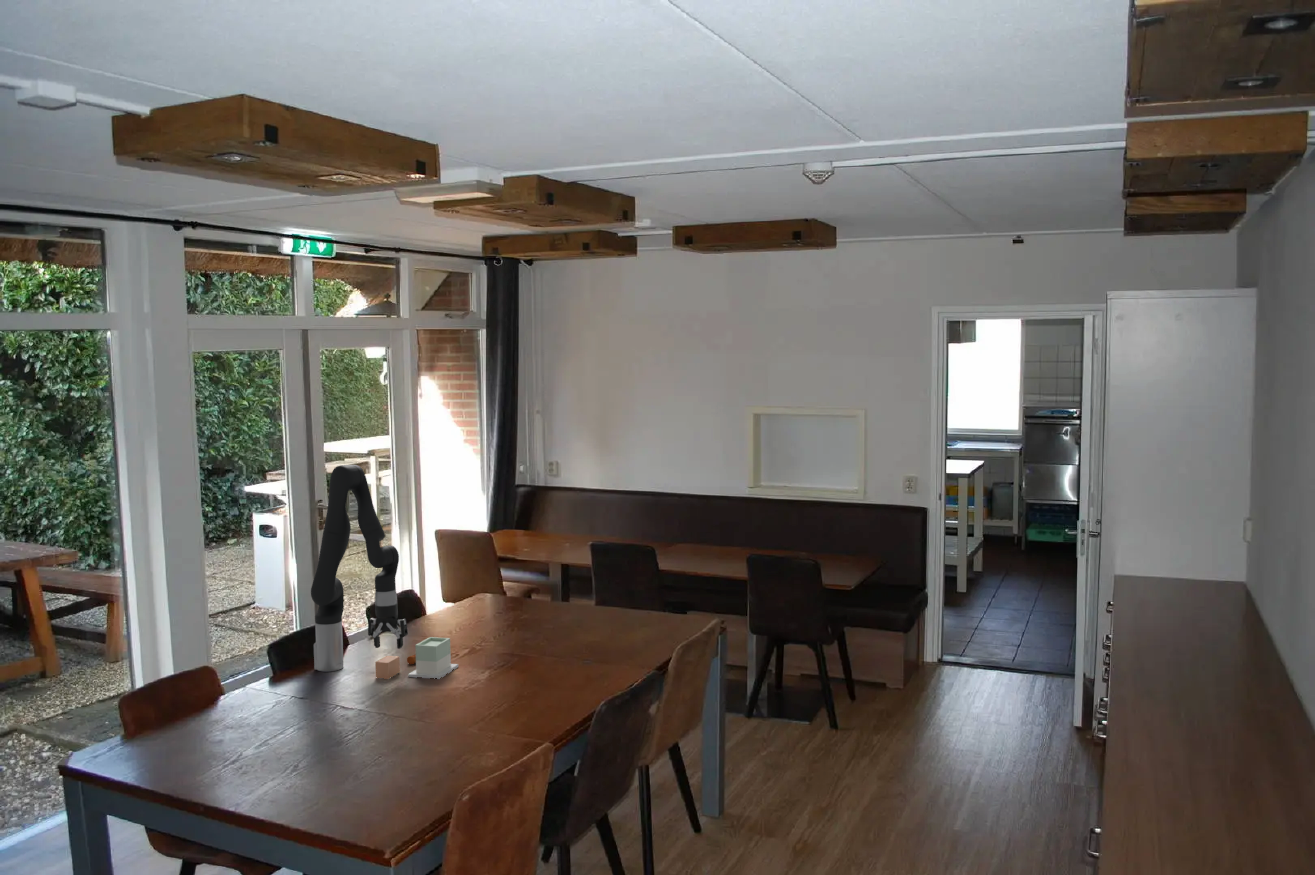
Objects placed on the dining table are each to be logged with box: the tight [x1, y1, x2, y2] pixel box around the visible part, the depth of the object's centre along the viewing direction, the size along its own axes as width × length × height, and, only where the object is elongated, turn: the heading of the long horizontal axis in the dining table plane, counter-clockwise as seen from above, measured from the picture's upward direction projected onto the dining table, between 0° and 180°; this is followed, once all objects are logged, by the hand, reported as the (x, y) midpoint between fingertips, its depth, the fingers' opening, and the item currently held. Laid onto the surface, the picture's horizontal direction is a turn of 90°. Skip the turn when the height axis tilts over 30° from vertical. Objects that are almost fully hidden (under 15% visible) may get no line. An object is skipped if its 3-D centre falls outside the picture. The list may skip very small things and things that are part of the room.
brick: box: [374, 655, 401, 680], centre depth 372 cm, size 8×5×6 cm, turn 165°
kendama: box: [406, 653, 416, 665], centre depth 394 cm, size 6×6×20 cm
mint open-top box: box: [408, 636, 459, 680], centre depth 376 cm, size 15×12×11 cm
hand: (388, 647), depth 372 cm, fingers open, 8 cm apart
